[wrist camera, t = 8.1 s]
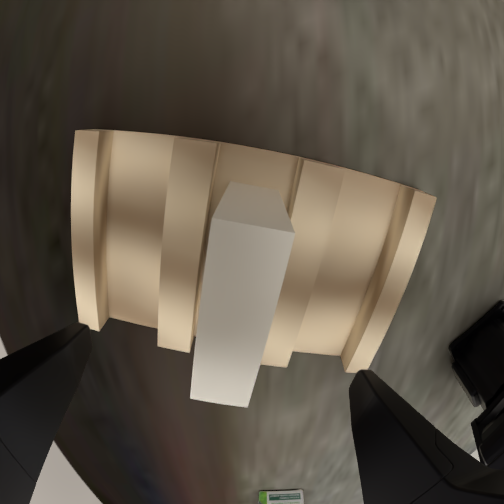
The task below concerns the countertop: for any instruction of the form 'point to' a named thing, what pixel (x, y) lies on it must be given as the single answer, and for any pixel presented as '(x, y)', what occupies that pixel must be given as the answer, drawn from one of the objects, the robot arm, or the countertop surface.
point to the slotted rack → (197, 235)
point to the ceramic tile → (239, 292)
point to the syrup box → (281, 497)
